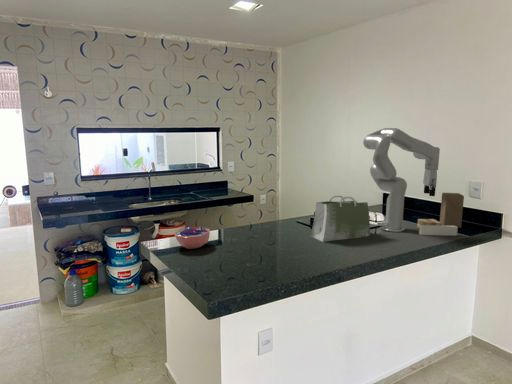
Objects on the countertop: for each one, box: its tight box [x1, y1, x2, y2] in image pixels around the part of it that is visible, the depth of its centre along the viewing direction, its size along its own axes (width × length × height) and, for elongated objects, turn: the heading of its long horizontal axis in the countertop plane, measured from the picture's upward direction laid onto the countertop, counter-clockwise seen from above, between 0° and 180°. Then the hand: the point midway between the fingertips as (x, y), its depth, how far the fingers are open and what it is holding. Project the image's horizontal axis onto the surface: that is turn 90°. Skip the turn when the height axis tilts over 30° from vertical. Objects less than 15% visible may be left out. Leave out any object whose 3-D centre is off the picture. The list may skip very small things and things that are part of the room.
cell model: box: [174, 226, 211, 250], centre depth 193 cm, size 17×20×11 cm
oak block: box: [417, 218, 441, 228], centre depth 230 cm, size 10×9×5 cm
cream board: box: [418, 225, 459, 237], centre depth 217 cm, size 20×3×5 cm, turn 86°
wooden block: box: [439, 192, 465, 229], centre depth 236 cm, size 10×10×20 cm
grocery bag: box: [309, 195, 371, 243], centre depth 212 cm, size 32×14×23 cm, turn 113°
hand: (429, 194), depth 236 cm, fingers open, 9 cm apart
